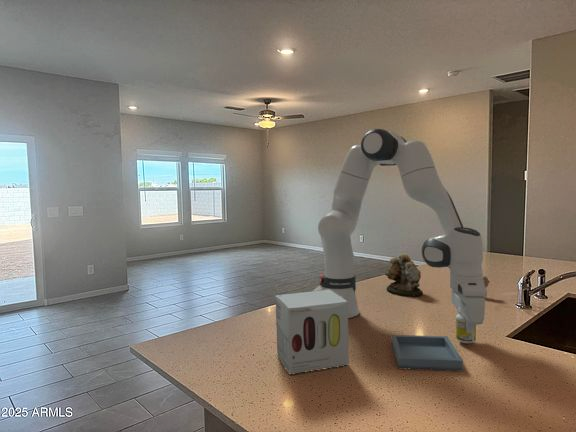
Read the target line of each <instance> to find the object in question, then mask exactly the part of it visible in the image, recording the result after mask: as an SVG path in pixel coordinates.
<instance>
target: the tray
mask: <svg viewBox="0 0 576 432" xmlns="http://www.w3.org/2000/svg"><path fill="white" fill-rule="evenodd" d="M391 345H392V350H393V352H394V353H395V354H394V353H393V354H394V356H395V361H396V365H397V364H398V365H397V368H398V369H399V368H407V369H406V370H417V369H428V370H427V371H444V370H452V371H451V372H453V370H454V372H463V371H464V361H463V359H462V356H461V355H460V353H459V352H458V351H457V348H456V347H455V346H454V344H453V343H452V342H451V339H450V338H449V337H448V336H447V335H414V334H413V335H408V334H391ZM408 368H410V369H408ZM430 369H432V370H430Z"/></svg>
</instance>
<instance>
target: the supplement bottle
mask: <svg viewBox="0 0 576 432" xmlns="http://www.w3.org/2000/svg"><path fill="white" fill-rule="evenodd" d="M458 311H459V314H458V313H457V314H456V316H455V338H456V340H457V341H458V342H461V343H463V344H472V343H473V344H474V343H475V342H476V340H477V339H476V338H477V331H476V330H477V324H475V325H474V327H473V333H467V332H466V331H465V326H466V319H465V318H464V316H463V315H462V314H461V312H460V308H458ZM458 311H457V312H458Z"/></svg>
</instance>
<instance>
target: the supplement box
mask: <svg viewBox="0 0 576 432" xmlns="http://www.w3.org/2000/svg"><path fill="white" fill-rule="evenodd" d="M275 319H276V320H275V321H276V322H275V324H276V346H277V348H276V350H277V351H276V352H277V357H278V359H279V360H281V361H280V362H281V363H283V364H282V366H283V365H284V366H285V368H286V369H285V368H284V369H285V371H286V370H287V371H288V373H290V374H293V373H299V372H305V371H311V370H317V369H323V368H330V367H337V366H343V367H345V366H344V365H348V364H349V363H350V361H349V360H350V359H349V358H350V357H349V355H350V352H349V344H350V343H349V342H350V341H349V318H348V301H346V300H345V299H343V298H342V297H340V296H339V295H337V294H336V293H334V292H333V291H331V290H330V289H327V290H318V291H313V290H311V291H301V292H295V293H294V292H293V293H285V294H276V295H275ZM349 365H350V364H349ZM284 366H283V367H284ZM337 368H338V367H337ZM330 369H331V368H330ZM287 371H286V372H287ZM311 372H312V371H311ZM288 373H287V374H288ZM305 373H306V372H305ZM299 374H300V373H299ZM293 375H294V374H293Z"/></svg>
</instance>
